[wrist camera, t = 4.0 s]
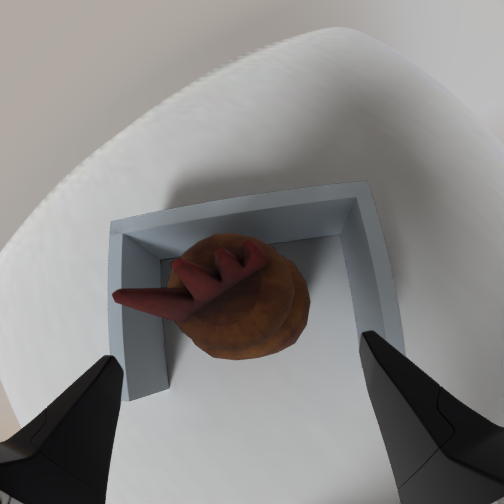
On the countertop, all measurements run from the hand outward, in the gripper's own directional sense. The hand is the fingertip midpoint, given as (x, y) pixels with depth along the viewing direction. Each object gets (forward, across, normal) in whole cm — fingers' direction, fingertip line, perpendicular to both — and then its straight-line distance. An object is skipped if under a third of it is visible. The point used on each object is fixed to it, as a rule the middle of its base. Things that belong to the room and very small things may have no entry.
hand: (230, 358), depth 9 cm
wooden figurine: (+9, 0, +6) cm, 11 cm away
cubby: (+9, 0, +6) cm, 11 cm away
